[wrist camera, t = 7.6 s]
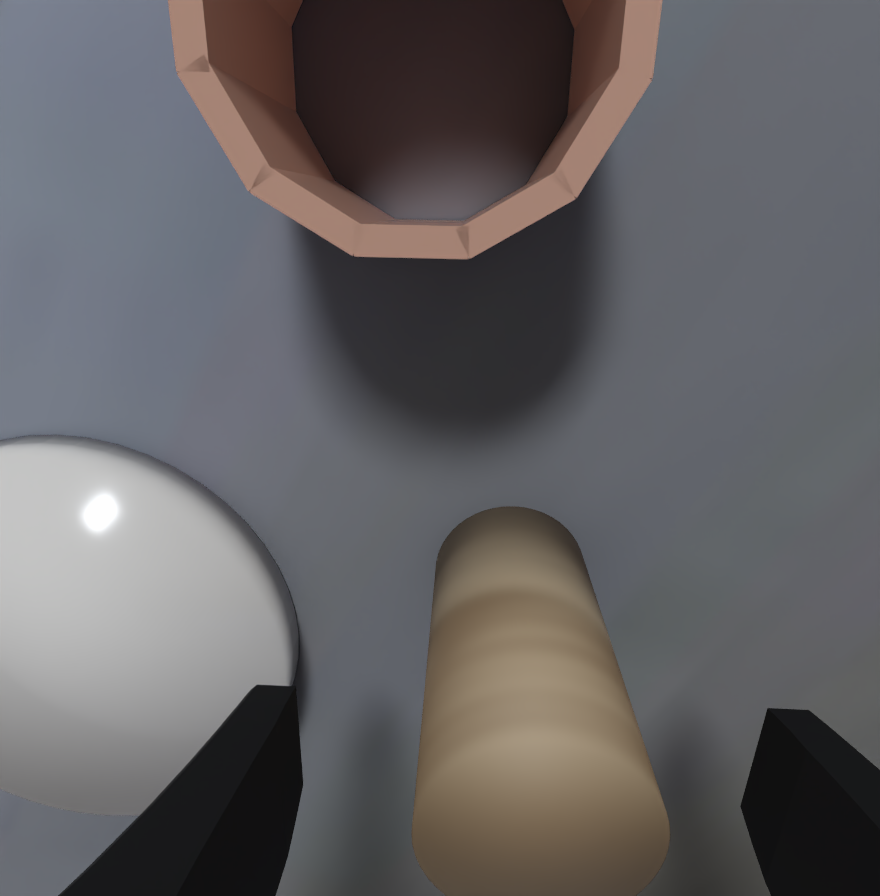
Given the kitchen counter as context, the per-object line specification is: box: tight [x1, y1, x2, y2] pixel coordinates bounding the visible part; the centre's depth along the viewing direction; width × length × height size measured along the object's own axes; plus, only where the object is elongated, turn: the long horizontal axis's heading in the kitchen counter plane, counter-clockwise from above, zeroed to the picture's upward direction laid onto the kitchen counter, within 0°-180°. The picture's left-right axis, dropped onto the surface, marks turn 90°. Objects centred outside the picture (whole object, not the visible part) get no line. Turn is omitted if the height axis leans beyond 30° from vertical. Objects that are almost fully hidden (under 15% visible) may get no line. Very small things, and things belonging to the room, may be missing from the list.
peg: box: [412, 507, 670, 896], centre depth 11 cm, size 3×3×6 cm
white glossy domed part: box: [0, 435, 299, 816], centre depth 15 cm, size 10×10×1 cm
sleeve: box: [168, 0, 662, 259], centre depth 9 cm, size 6×6×4 cm
